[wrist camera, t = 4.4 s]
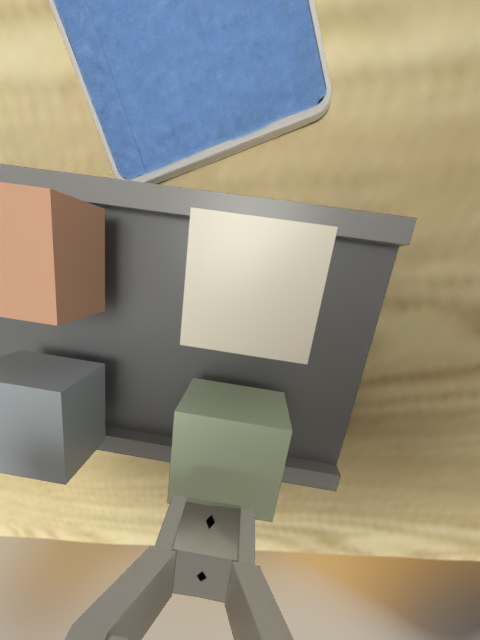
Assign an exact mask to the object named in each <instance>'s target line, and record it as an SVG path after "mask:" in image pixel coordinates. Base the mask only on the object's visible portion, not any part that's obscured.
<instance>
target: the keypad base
mask: <svg viewBox="0 0 480 640" xmlns="http://www.w3.org/2000/svg"><path fill="white" fill-rule="evenodd" d="M0 182H5V183H12V184H20V185H27V186H35V187H42V188H50V189H53V190H55V191H58V192H61V193H63V194H66V195H69V196H71V197H74V198H77V199H80V200H82V201H85V202H88V203H90V204H93V205H96V206H98V207H101V208H104V209H105V311H104V312H101V313H98V314H94V315H91V316H88V317H84V318H81V319H78V320H75V321H71V322H68V323H65V324H61V325H58V326H56V325H50V324H43V323H37V322H30V321H24V320H17V319H11V318H4V317H0V357H1V356H4V355H7V354H9V353H12V352H15V351H18V350H23V351H29V352H35V353H41V354H48V355H54V356H60V357H66V358H73V359H79V360H85V361H91V362H98V363H104V364H105V440H104V441H103V443H102V444H101V445H100V446H99V447H98V448H97V449H96V450H102V451H108V452H114V453H119V454H125V455H131V456H136V457H142V458H148V459H154V460H159V461H165V462H171V449H172V437H173V424H174V411H175V410H176V408H177V406H178V404H179V402H180V401H181V399H182V397H183V395H184V394H185V392H186V390H187V388H188V386H189V385H190V383H191V381H192V379H193V378H197V379H204V380H210V381H216V382H222V383H228V384H235V385H241V386H247V387H253V388H260V389H266V390H272V391H278V392H284V394H285V398H286V403H287V408H288V412H289V417H290V422H291V426H292V436H291V440H290V445H289V449H288V453H287V458H286V462H285V467H284V471H283V476H282V480H281V482H285V483H291V484H297V485H302V486H308V487H314V488H320V489H325V490H331V491H336V490H337V487H338V483H339V480H340V473H339V471H338V468H337V465H336V464H337V461H338V457H339V454H340V450H341V447H342V443H343V440H344V436H345V433H346V429H347V426H348V422H349V419H350V416H351V412H352V409H353V405H354V402H355V398H356V395H357V391H358V388H359V384H360V381H361V377H362V374H363V370H364V367H365V363H366V360H367V356H368V353H369V349H370V346H371V342H372V339H373V335H374V332H375V328H376V325H377V321H378V318H379V314H380V311H381V307H382V304H383V300H384V297H385V294H386V290H387V287H388V283H389V280H390V276H391V273H392V269H393V266H394V262H395V259H396V255H397V252H398V248H399V246H406V245H409V244H410V240H411V237H412V233H413V230H414V227H415V223H416V220H417V218H413V217H405V216H397V215H390V214H382V213H374V212H367V211H359V210H351V209H344V208H336V207H328V206H321V205H313V204H305V203H297V202H290V201H282V200H274V199H267V198H259V197H251V196H244V195H236V194H228V193H221V192H213V191H205V190H197V189H190V188H182V187H174V186H167V185H159V184H151V183H144V182H136V181H128V180H121V179H113V178H105V177H97V176H90V175H82V174H74V173H67V172H59V171H51V170H44V169H36V168H28V167H21V166H13V165H5V164H0ZM191 207H192V208H200V209H208V210H215V211H223V212H230V213H238V214H245V215H253V216H260V217H268V218H275V219H283V220H290V221H298V222H305V223H313V224H320V225H328V226H335V227H338V229H337V233H336V238H335V242H334V247H333V251H332V256H331V260H330V265H329V269H328V274H327V278H326V283H325V287H324V292H323V296H322V301H321V305H320V310H319V314H318V319H317V323H316V328H315V332H314V337H313V341H312V346H311V350H310V355H309V359H308V364H300V363H294V362H288V361H281V360H275V359H268V358H262V357H255V356H249V355H243V354H236V353H230V352H223V351H217V350H210V349H204V348H198V347H191V346H185V345H180V336H181V323H182V310H183V298H184V285H185V272H186V260H187V247H188V235H189V222H190V209H191Z"/></svg>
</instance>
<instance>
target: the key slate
mask: <svg viewBox="0 0 480 640" xmlns="http://www.w3.org/2000/svg"><path fill="white" fill-rule="evenodd" d="M104 440H105V364H104V363H98V362H91V361H85V360H79V359H73V358H66V357H60V356H54V355H48V354H41V353H35V352H29V351H23V350H18V351H15V352H12V353H9V354H7V355H4V356H1V357H0V473H4V474H9V475H15V476H20V477H26V478H31V479H37V480H42V481H48V482H53V483H59V484H64V485H66V484H67V483H68V482H69V480H70V479H71V478H72V477H73V476H74V475H75V474H76V472H77V471H78V470H79V469H80V468H81V467H82V465H83V464H84V463H85V462H86V461H87V460H88V459H89V457H90V456H91V455H92V454H93V453H94V452H95V451H96V449H97V448H98V447H99V446H100V445H101V444H102V443H103V441H104Z"/></svg>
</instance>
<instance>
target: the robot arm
mask: <svg viewBox="0 0 480 640" xmlns="http://www.w3.org/2000/svg"><path fill="white" fill-rule="evenodd" d="M172 593H175V594H182V595H188V596H195V597H201V598H205V599H209V600H214V601H219V602H223V603H225V608H226V611H227V615H228V619H229V623H230V626H231V630H232V634H233V637H234V640H294V639H293V637H292V635H291V633H290V631H289V629H288V626H287V624H286V622H285V620H284V618H283V616H282V614H281V611H280V609H279V607H278V605H277V603H276V601H275V599H274V596H273V594H272V592H271V590H270V588H269V585H268V584H267V581H266V579H265V577H264V575H263V573H262V570H261V568H260V566H257V565H255V511H254V509H253V508H247V507H240V506H238V505H231V504H225V503H219V502H209V501H204V500H199V499H195V498H190V497H185V496H179V495H174V496H173V498H172V500H171V502H170V505H169V508H168V511H167V513H166V516H165V519H164V522H163V525H162V527H161V530H160V533H159V536H158V539H157V541H156V544H155V547H153V546H150V547H149V548H148V549H147V550H146V551H145V552H144V553H143V554H142V555H141V556H140V557H139V558H138V559H137V560H136V561H135V562H134V563H133V564H132V565H131V566H130V567H129V568H128V569H127V570H126V571H125V572H124V573H123V574H122V575H121V576H120V577H119V578H118V579H117V580H116V581H115V582H114V583H113V584H112V585H111V586H110V587H109V588H108V589H107V590H106V591H105V592H104V593H103V594H102V595H101V596H100V597H99V598H98V599H97V600H96V601H95V602H94V603H93V604H92V605H91V606H90V607H89V608H88V609H87V610H86V612H84V613H83V614H82V615H81V616H80V617H79V618H78V620H76V622H75V623H74V624H73V625H72V627H71V628H70V630H69V632H68V634H67V636H66V638H65V640H142V638H143V637H144V635H145V634H146V632H147V631H148V629H149V628H150V626H151V625H152V624H153V622H154V621H155V619H156V618H157V616H158V615H159V613H160V612H161V611H162V609H163V608H164V606H165V605H166V603H167V602H168V600H169V599H170V597H171V596H172Z"/></svg>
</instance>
